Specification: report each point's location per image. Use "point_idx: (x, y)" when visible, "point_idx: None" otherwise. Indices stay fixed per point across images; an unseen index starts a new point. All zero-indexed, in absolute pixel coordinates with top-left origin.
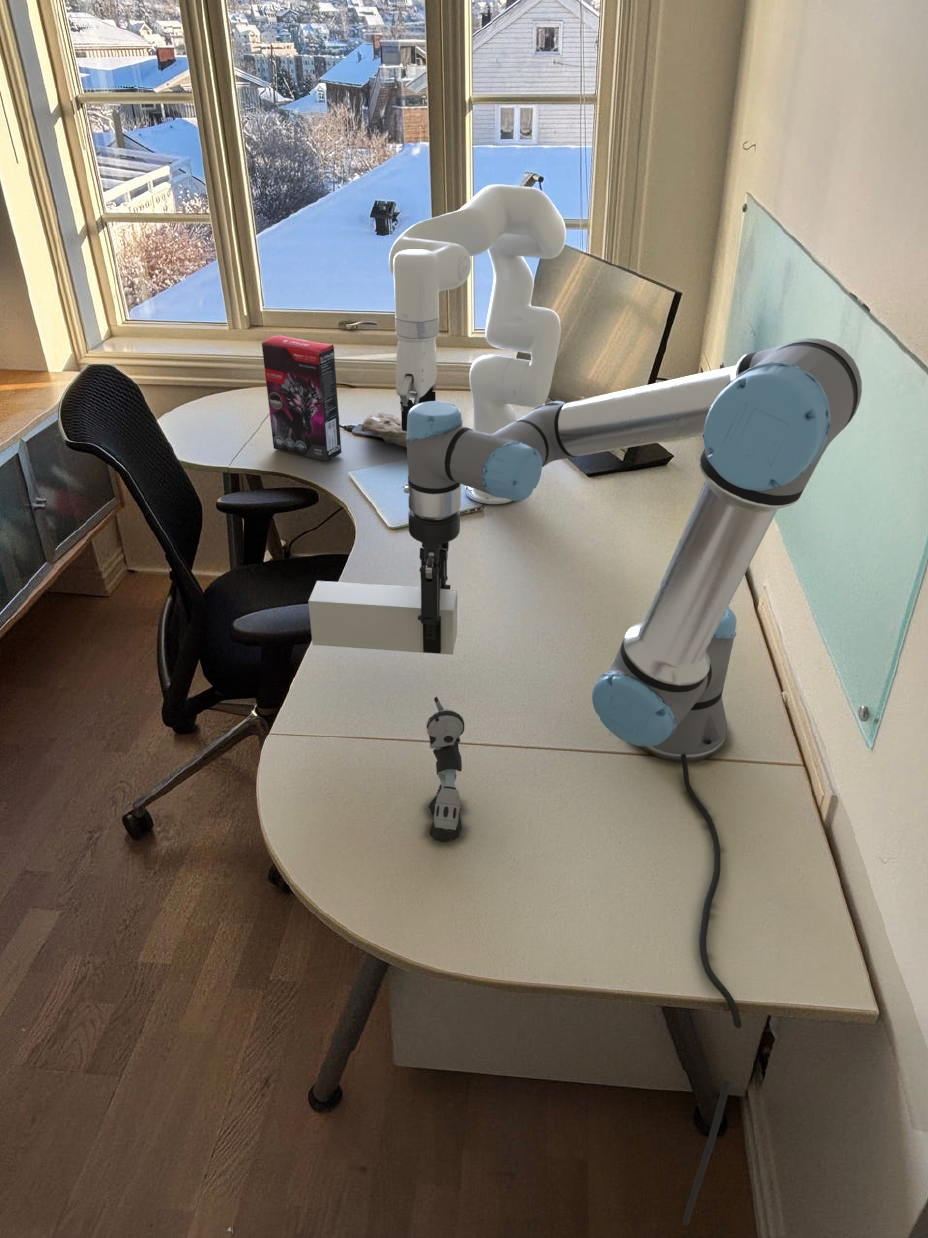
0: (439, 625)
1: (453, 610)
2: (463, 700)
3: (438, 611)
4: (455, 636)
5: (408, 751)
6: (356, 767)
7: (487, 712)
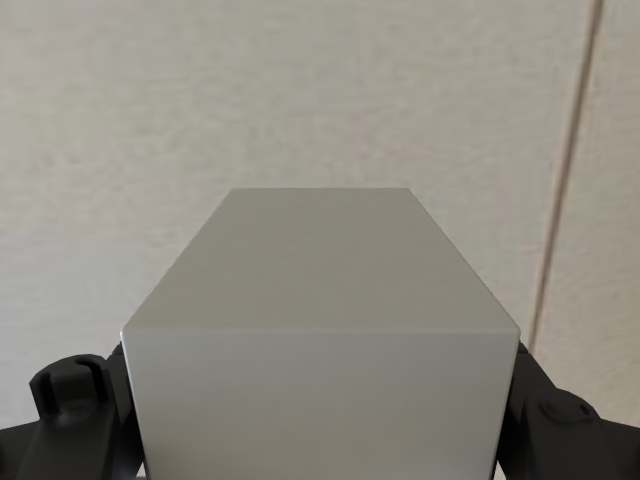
0: None
1: (513, 326)
2: (377, 111)
3: (620, 473)
4: (301, 196)
5: (595, 238)
6: (635, 341)
7: (435, 22)
